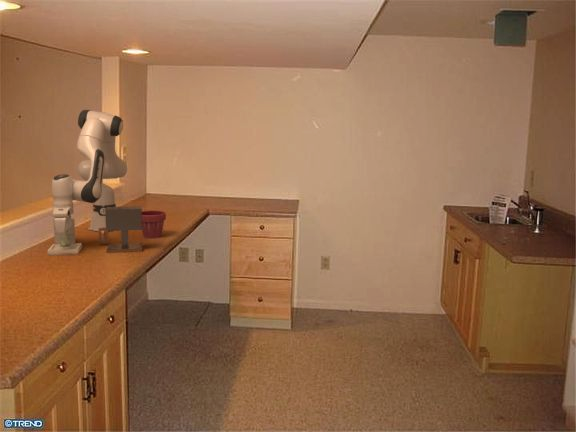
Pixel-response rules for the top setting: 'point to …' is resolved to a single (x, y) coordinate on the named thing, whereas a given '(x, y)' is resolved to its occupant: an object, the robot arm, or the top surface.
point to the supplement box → (72, 233)
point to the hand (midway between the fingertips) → (64, 239)
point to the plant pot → (153, 223)
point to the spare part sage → (67, 242)
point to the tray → (65, 249)
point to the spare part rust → (103, 236)
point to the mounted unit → (124, 226)
